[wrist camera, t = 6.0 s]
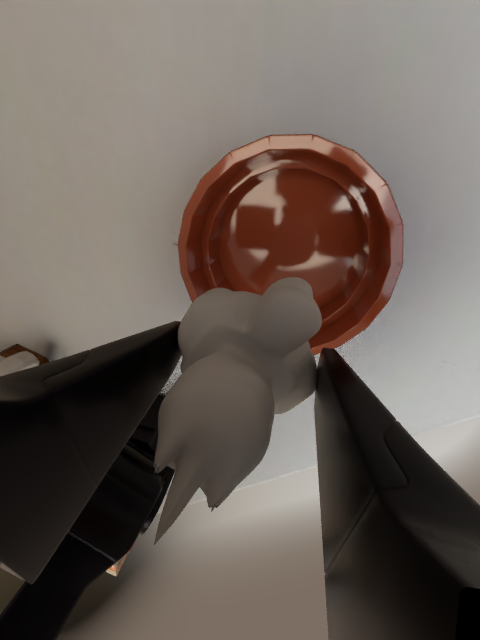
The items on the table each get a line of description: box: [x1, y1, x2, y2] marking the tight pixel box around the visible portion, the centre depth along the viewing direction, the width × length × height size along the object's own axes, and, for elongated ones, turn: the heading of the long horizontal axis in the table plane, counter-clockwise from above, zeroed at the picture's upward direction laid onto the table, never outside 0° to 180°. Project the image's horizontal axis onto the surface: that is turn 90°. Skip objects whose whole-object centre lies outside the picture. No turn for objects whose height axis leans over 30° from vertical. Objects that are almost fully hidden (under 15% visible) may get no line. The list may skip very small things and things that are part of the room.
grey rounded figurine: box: [154, 277, 322, 544], centre depth 7 cm, size 5×7×8 cm
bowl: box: [178, 134, 403, 355], centre depth 16 cm, size 13×13×5 cm
